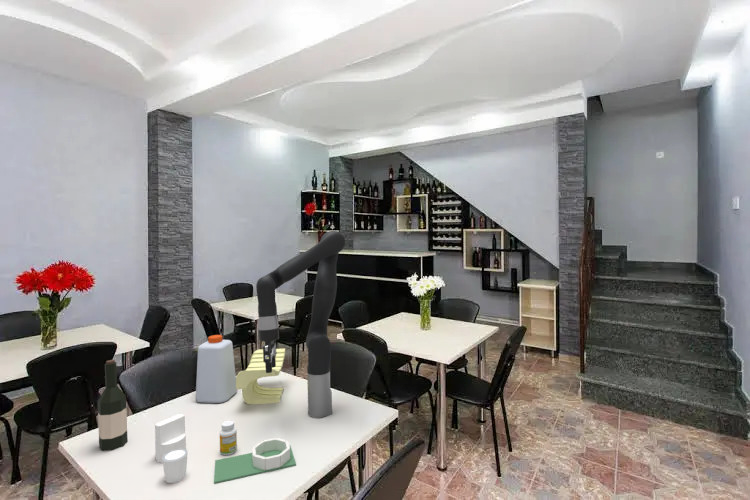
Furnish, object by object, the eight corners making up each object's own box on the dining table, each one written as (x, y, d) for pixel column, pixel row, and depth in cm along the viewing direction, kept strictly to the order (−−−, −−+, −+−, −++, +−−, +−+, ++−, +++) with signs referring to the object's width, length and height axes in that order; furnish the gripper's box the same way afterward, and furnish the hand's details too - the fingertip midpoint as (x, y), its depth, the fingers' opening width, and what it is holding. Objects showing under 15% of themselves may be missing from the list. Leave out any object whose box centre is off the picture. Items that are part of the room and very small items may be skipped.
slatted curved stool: (252, 385, 187) (252, 349, 187) (285, 384, 189) (285, 348, 188) (236, 413, 158) (235, 371, 157) (275, 411, 159) (274, 369, 158)
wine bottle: (97, 453, 129) (93, 366, 128) (101, 442, 137) (98, 359, 136) (126, 447, 133) (123, 362, 132) (128, 436, 140) (125, 355, 139)
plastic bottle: (240, 390, 181) (238, 332, 180) (224, 404, 166) (222, 341, 165) (210, 389, 183) (208, 332, 182) (191, 403, 168) (189, 340, 167)
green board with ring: (290, 446, 132) (290, 434, 132) (296, 465, 121) (295, 453, 121) (215, 461, 124) (215, 449, 123) (214, 483, 112) (213, 470, 112)
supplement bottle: (222, 447, 132) (222, 419, 132) (238, 446, 133) (238, 418, 132) (217, 456, 127) (217, 427, 126) (234, 455, 127) (233, 426, 127)
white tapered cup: (177, 485, 112) (177, 462, 112) (157, 482, 113) (156, 459, 113) (193, 471, 119) (192, 449, 118) (174, 469, 120) (173, 447, 120)
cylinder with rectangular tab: (165, 466, 122) (164, 429, 121) (150, 457, 127) (149, 422, 126) (191, 452, 129) (190, 417, 129) (176, 444, 134) (175, 411, 134)
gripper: (275, 329, 141) (278, 373, 141) (281, 324, 156) (283, 364, 155) (254, 331, 141) (257, 375, 140) (262, 326, 155) (264, 366, 154)
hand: (271, 369), depth 147 cm, fingers open, 8 cm apart
